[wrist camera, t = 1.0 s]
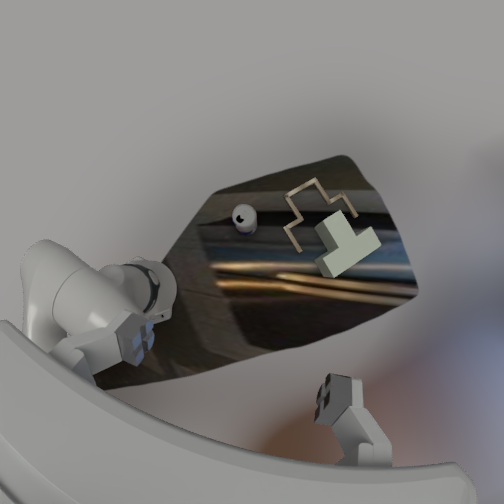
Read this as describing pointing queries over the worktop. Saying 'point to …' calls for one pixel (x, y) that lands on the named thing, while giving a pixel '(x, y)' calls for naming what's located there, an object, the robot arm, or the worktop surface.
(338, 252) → the T block
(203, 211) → the worktop surface
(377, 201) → the worktop surface
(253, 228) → the energy drink
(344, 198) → the T guide
